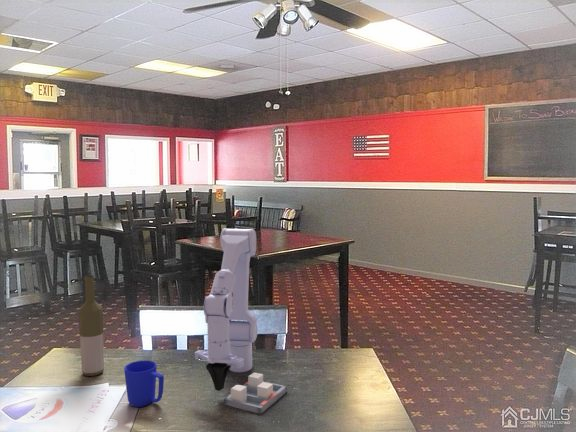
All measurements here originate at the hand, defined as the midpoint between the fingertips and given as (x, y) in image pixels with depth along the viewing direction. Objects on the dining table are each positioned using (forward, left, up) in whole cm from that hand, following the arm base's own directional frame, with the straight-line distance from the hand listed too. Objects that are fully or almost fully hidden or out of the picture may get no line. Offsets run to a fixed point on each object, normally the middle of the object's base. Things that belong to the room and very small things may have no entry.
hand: (219, 389), depth 132 cm
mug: (-16, -10, -4) cm, 19 cm away
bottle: (-45, -2, -4) cm, 45 cm away
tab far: (+6, +9, -2) cm, 11 cm away
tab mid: (+11, +4, -2) cm, 13 cm away
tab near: (+6, 0, -2) cm, 7 cm away
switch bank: (+9, +4, -3) cm, 10 cm away
